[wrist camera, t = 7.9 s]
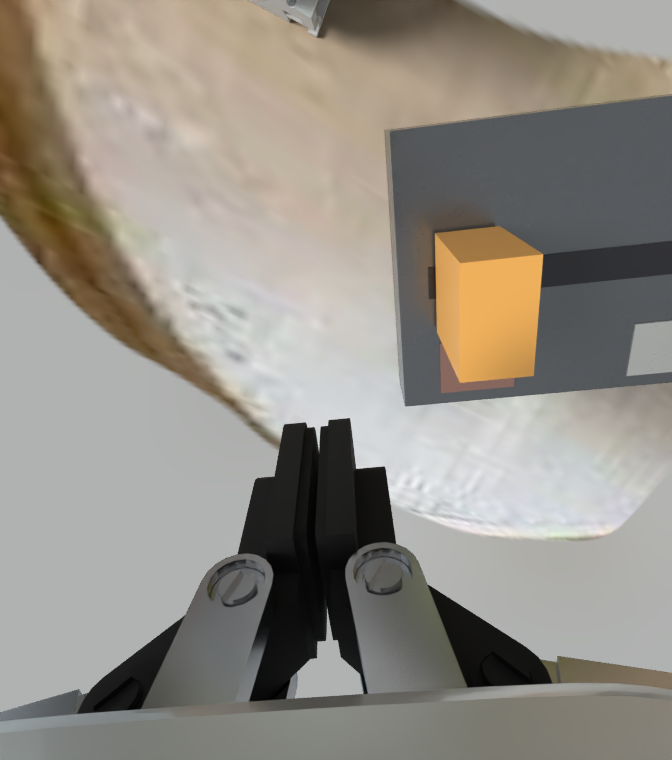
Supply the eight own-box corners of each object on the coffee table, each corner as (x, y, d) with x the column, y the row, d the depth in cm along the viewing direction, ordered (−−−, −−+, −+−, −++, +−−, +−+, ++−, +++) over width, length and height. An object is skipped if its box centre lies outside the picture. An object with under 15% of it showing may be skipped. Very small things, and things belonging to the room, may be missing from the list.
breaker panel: (769, 81, 23) (827, 76, 20) (701, 353, 29) (738, 377, 27) (384, 130, 24) (389, 131, 21) (399, 381, 31) (405, 407, 28)
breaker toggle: (499, 225, 23) (543, 254, 18) (496, 326, 25) (533, 376, 20) (434, 233, 23) (460, 263, 18) (437, 332, 25) (459, 382, 20)
